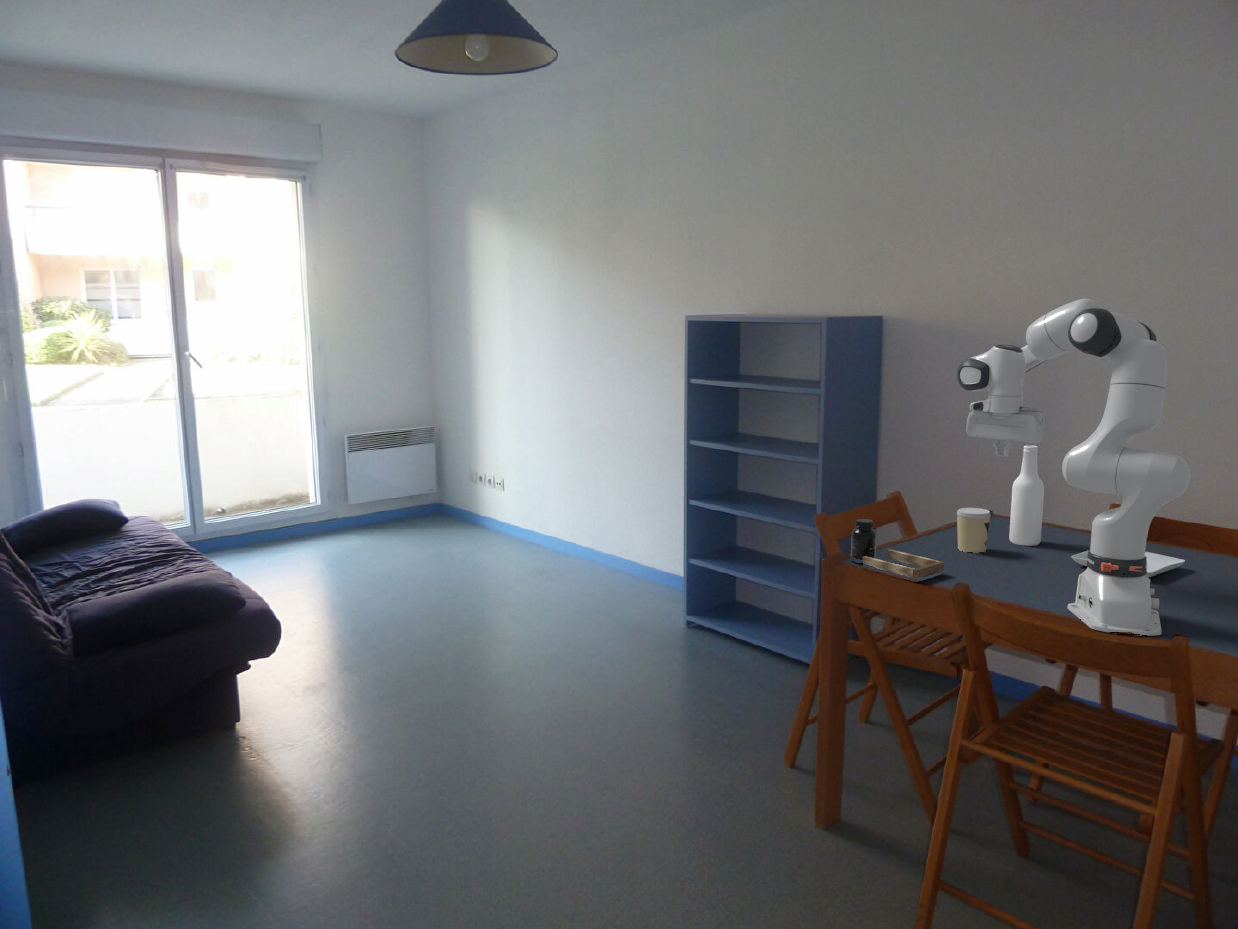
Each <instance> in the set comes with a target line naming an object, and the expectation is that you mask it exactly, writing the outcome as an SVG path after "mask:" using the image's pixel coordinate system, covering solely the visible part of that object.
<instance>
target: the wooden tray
mask: <svg viewBox="0 0 1238 929" xmlns="http://www.w3.org/2000/svg"><path fill="white" fill-rule="evenodd" d="M886 555H887V556H886V559H887V558H889V559H892V560H896V561H899V562H902V563H906V564H913V565H917V566H920V567H919V568H916V569H915V568H911V567H907V566H903V565H899V564H895V563H891V562H887V560H882V559H879V558H876V557H875V558H871V557H867V556H864V557H863V564H866V565H869V566H873V567H875V568H877V569H880V570H885V571H889V572H892V573H896V574H900V575H905V576H907V577H915V578H919V577H925V576H929V575H933V574H935V573H939V572H942V571H944V572H945V561H941V560H937V559H933V558H928V557H924V556H920V555H917V554H916V555H915V554H911V553H907V552H902V551H899V550H893V549H887V553H886Z"/></svg>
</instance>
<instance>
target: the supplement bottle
mask: <svg viewBox="0 0 1238 929" xmlns="http://www.w3.org/2000/svg"><path fill="white" fill-rule="evenodd" d="M873 528H874V521H873V519H866V518H860V519H856V520H855V528H854V529H853V530H852V531H851V543H850V544H851V546H850V557H851V556H852V555H853V556H852V558H856V559H860V560H863V557H864V556H867V557H871V558H875V559H876V553H877V531H876V530H874V529H873ZM854 554H856V555H854Z"/></svg>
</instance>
